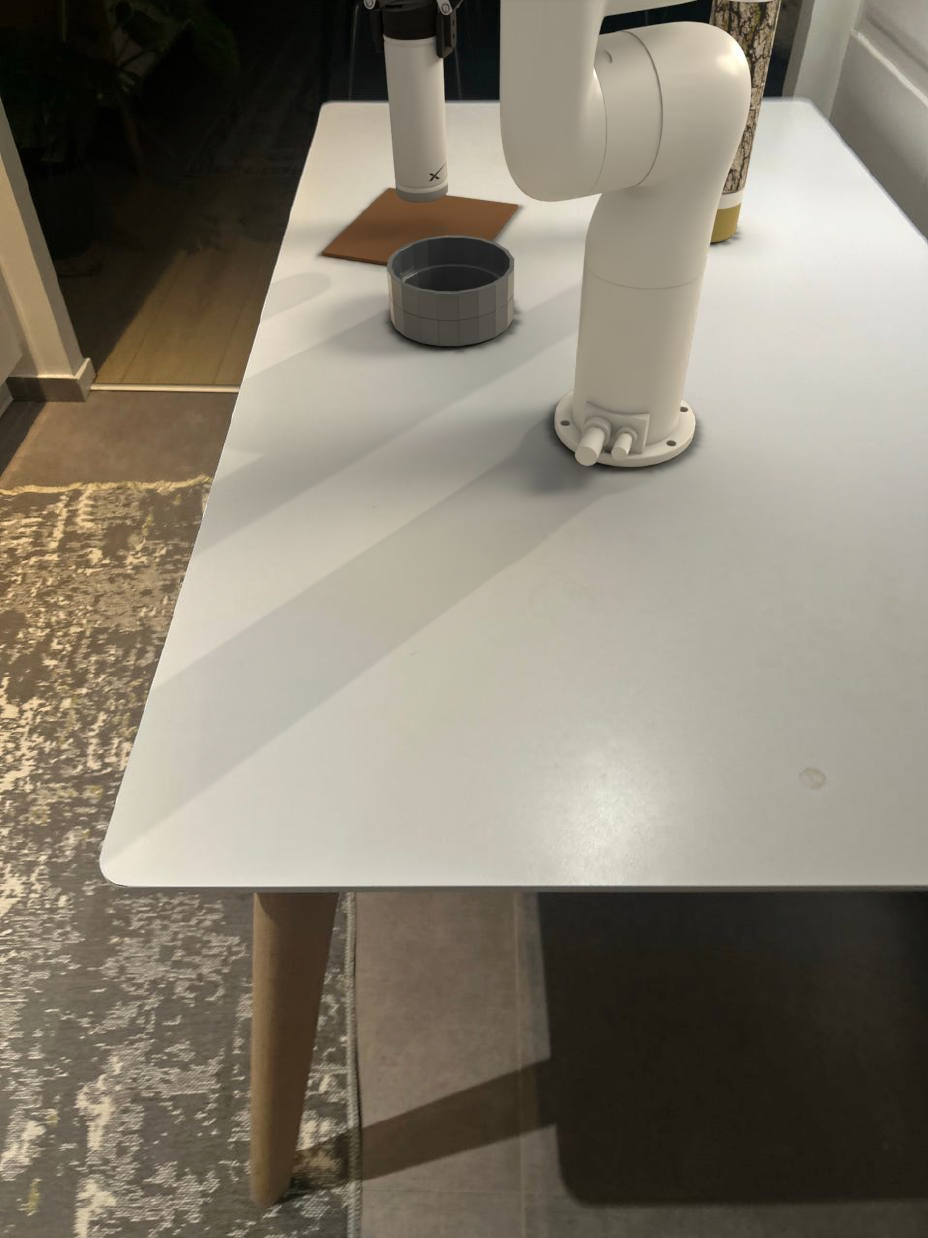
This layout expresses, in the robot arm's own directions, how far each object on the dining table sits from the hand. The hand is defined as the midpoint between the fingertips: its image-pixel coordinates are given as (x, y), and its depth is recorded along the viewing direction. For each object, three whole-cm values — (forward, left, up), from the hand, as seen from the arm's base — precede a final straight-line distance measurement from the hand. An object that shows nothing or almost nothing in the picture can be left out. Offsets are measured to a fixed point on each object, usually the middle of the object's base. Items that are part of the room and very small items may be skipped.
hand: (414, 49), depth 99 cm
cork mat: (0, 0, -20) cm, 20 cm away
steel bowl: (-19, -11, -20) cm, 29 cm away
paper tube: (+10, -33, -20) cm, 40 cm away
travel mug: (0, 0, -15) cm, 15 cm away
